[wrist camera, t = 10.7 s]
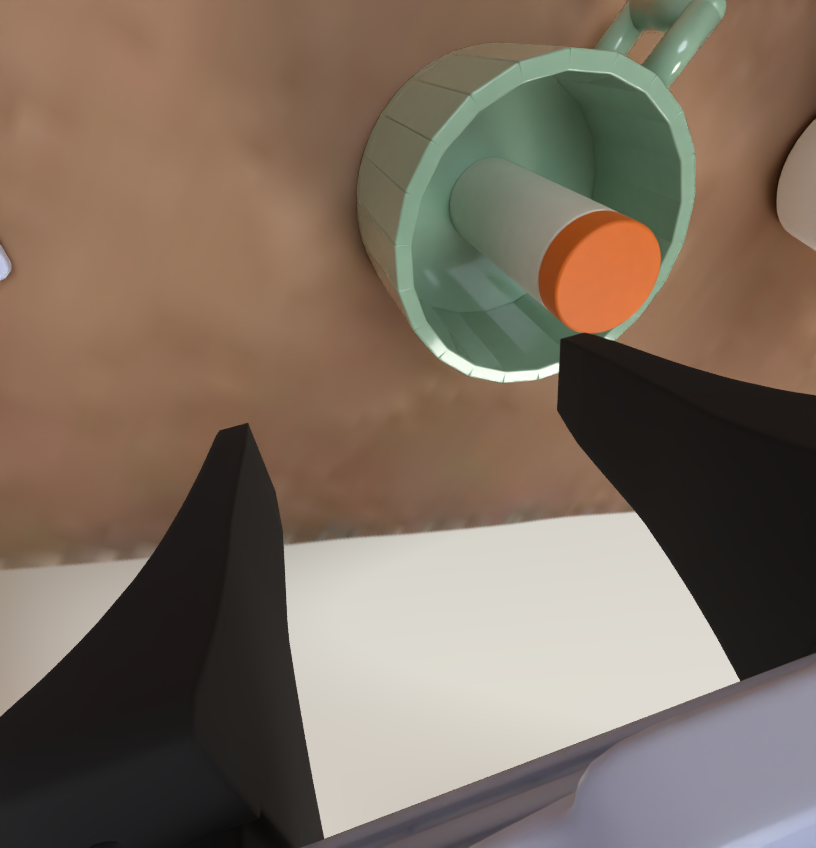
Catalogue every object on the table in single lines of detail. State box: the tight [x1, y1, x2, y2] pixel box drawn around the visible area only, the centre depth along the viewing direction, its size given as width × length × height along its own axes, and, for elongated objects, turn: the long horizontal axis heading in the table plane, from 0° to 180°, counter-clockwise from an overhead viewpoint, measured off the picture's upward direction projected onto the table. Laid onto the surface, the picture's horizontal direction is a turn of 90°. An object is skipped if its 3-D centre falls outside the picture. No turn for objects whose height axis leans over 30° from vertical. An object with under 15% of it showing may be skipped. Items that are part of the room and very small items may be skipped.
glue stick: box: [450, 158, 661, 334], centre depth 17 cm, size 3×3×8 cm
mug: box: [357, 0, 727, 383], centre depth 18 cm, size 12×10×6 cm
